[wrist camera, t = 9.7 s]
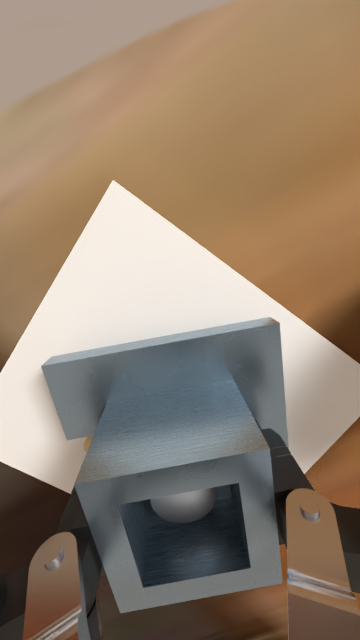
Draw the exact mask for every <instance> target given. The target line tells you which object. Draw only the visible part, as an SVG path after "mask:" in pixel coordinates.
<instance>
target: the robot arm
mask: <svg viewBox="0 0 360 640" xmlns="http://www.w3.org/2000/svg"><path fill="white" fill-rule="evenodd" d="M254 419H255V421H256V423H257V425H258V427H259V429H260V431H261V433H262V435H263V436H264V438H265V440H266V442H267V444H268V446H269V448H270V455H271V465H272V476H273V486H274V497H275V507H276V518H277V529H278V539H279V545H281V544H285V545H286V548H287V559H288V575H287V592H288V629H289V640H360V614H359V609H358V605H357V602H356V598H355V596H354V594H352V592H356V593H360V509H357V508H350V507H343V506H339V505H336V504H333V503H331V502H329V501H328V500H327V499H326V498H325V497H324V496H323V495H321V494H320V493H318V492H316V491H315V490H314V489H313V487H312V486H311V484H310V483H309V481H308V480H307V478H306V476H305V475H304V473H303V472H302V470H301V468H300V467H299V465H298V463H297V462H296V460H295V459H294V457H293V455H291V452H290V451H289V449H288V447H286V444H285V443H284V441H283V439H282V438H281V436H280V435H279V434H278V433H276V432H275V431H274V430H272V429H271V428H267V429H261V427H260V425H259V423H258V422H257V420H256V418H254ZM104 576H107V575H106V572H105V569H104V566H103V564H102V561H101V558H100V555H99V553H98V550H97V547H96V544H95V541H94V539H93V536H92V533H91V530H90V528H89V525H88V522H87V519H86V517H85V514H84V511H83V508H82V505H81V503H80V500H79V497H78V494H77V492H76V489H75V486H74V487H73V490H72V492H71V495H70V497H69V500H68V502H67V505H66V507H65V510H64V512H63V515H62V517H61V520H60V522H59V525H58V527H57V530H56V532H55V535H54V536H52V537H50V538H49V539H48V540H47V541H45V542H44V543H43V544H42V545H41V546H40V548H39V549H38V550H37V552H36V553H35V555H34V556H33V558H32V561H31V562H30V563H28V564H26V565H24V566H22V567H21V568H19V569H17V570H15V571H13V572H11V573H9V574H7V575H5V576H3V577H1V575H0V640H104V638H103V630H102V623H101V615H100V608H99V600H98V595H97V593H96V592H97V587H98V583H99V578H100V577H104ZM351 591H352V592H351Z"/></svg>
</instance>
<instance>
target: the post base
mask: <svg viewBox="0 0 360 640" xmlns="http://www.w3.org/2000/svg"><path fill="white" fill-rule="evenodd" d="M267 317H271V318H273V319H274V320H276V321H278V322H279V323H280V334H281V348H282V362H283V376H284V390H285V404H286V418H287V432H288V446H289V451H290V452H291V455H293V457H294V459H295V460H296V462H297V463H298V465H299V467H300V468H301V470H302V472H303V473H304V474H305V473H306V472H307V471H308V470H309V469H310V468H311V467H312V466H313V465H314V464H315V462H316V461H317V460H318V459H319V458H320V457H321V456H322V455H323V454H324V453H325V452H326V451H327V450H328V449H329V448H330V447H331V446H332V445H333V444H334V443H335V442H336V441H337V440H338V439H339V438H340V436H341V435H342V434H343V433H344V432H345V431H346V430H347V429H348V428H349V427H350V426H351V425H352V424H353V423H354V422H355V421H356V420H357V419H358V418H359V417H360V364H359V363H358V362H356V361H355V360H354V359H352V358H351V357H350V356H348V355H347V354H346V353H344V352H343V351H342V350H340V349H339V348H337V347H336V346H335V345H333V344H332V343H331V342H329V341H328V340H327V339H325V338H324V337H323V336H321V335H320V334H319V333H317V332H316V331H315V330H313V329H312V328H311V327H309V326H308V325H307V324H305V323H304V322H303V321H301V320H300V319H299V318H297V317H296V316H295V315H293V314H292V313H291V312H289V311H288V310H287V309H285V308H284V307H283V306H281V305H280V304H279V303H277V302H276V301H275V300H273V299H272V298H271V297H269V296H268V295H266V294H265V293H264V292H262V291H261V290H260V289H258V288H257V287H256V286H254V285H253V284H252V283H250V282H249V281H248V280H246V279H245V278H244V277H242V276H241V275H240V274H238V273H237V272H236V271H234V270H233V269H232V268H230V267H229V266H228V265H226V264H225V263H224V262H222V261H221V260H220V259H218V258H217V257H216V256H214V255H213V254H212V253H210V252H209V251H208V250H206V249H205V248H204V247H202V246H201V245H199V244H198V243H197V242H195V241H194V240H193V239H191V238H190V237H189V236H187V235H186V234H185V233H183V232H182V231H181V230H179V229H178V228H177V227H175V226H174V225H173V224H171V223H170V222H169V221H167V220H166V219H165V218H163V217H162V216H161V215H159V214H158V213H157V212H155V211H154V210H153V209H151V208H150V207H149V206H147V205H146V204H145V203H143V202H142V201H141V200H139V199H138V198H137V197H135V196H134V195H133V194H131V193H130V192H128V191H127V190H126V189H124V188H123V187H122V186H120V185H119V184H118V183H116V182H115V181H114V180H113V181H112V183H111V184H110V186H109V188H108V189H107V191H106V193H105V195H104V196H103V198H102V200H101V202H100V203H99V205H98V207H97V208H96V210H95V212H94V214H93V215H92V217H91V219H90V220H89V222H88V224H87V226H86V227H85V229H84V231H83V232H82V234H81V236H80V238H79V239H78V241H77V243H76V244H75V246H74V248H73V250H72V251H71V253H70V255H69V256H68V258H67V260H66V262H65V263H64V265H63V267H62V268H61V270H60V272H59V274H58V275H57V277H56V279H55V280H54V282H53V284H52V286H51V287H50V289H49V291H48V292H47V294H46V296H45V298H44V299H43V301H42V303H41V304H40V306H39V308H38V310H37V311H36V313H35V315H34V316H33V318H32V320H31V322H30V323H29V325H28V327H27V328H26V330H25V332H24V334H23V335H22V337H21V339H20V340H19V342H18V344H17V346H16V347H15V349H14V351H13V352H12V354H11V356H10V358H9V359H8V361H7V363H6V365H5V366H4V368H3V370H2V371H1V373H0V461H1V462H3V463H5V464H7V465H9V466H11V467H13V468H16V469H18V470H20V471H22V472H24V473H26V474H29V475H31V476H33V477H35V478H37V479H39V480H42V481H44V482H46V483H48V484H50V485H52V486H55V487H57V488H59V489H61V490H63V491H65V492H67V493H70V494H71V492H72V490H73V487H74V483H75V481H76V478H77V476H78V473H79V471H80V468H81V466H82V463H83V461H84V458H85V456H86V453H87V451H88V448H89V446H90V443H91V441H92V438H93V436H88V437H83V438H77V439H72V440H67V439H66V437H65V434H64V431H63V428H62V425H61V422H60V419H59V417H58V414H57V411H56V408H55V405H54V402H53V399H52V397H51V394H50V391H49V388H48V385H47V382H46V379H45V377H44V374H43V371H42V368H41V366H42V365H43V364H44V363H45V362H46V361H47V360H48V359H49V358H51V357H52V356H57V355H63V354H68V353H74V352H79V351H85V350H90V349H96V348H101V347H107V346H112V345H118V344H123V343H129V342H134V341H140V340H145V339H151V338H156V337H162V336H167V335H173V334H178V333H184V332H189V331H195V330H201V329H206V328H212V327H217V326H223V325H228V324H234V323H239V322H245V321H250V320H256V319H261V318H267ZM215 501H216V490H215V487H213V488H207V489H202V490H197V491H191V492H186V493H180V494H175V495H169V496H164V497H159V498H153V499H151V505H152V508H153V510H154V511H155V512H156V514H158V515H159V516H160V517H161V518H163V519H165V520H167V521H170V522H174V523H189V522H193V521H196V520H198V519H201V518H202V517H204V516H205V515H206V514H208V513H209V512H210V510H211V509H212V508H213V506H214V504H215Z"/></svg>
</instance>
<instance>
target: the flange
mask: <svg viewBox="0 0 360 640" xmlns="http://www.w3.org/2000/svg"><path fill="white" fill-rule="evenodd" d="M41 368H42V371H43V374H44V377H45V379H46V382H47V385H48V388H49V391H50V394H51V397H52V399H53V402H54V405H55V408H56V411H57V414H58V417H59V419H60V422H61V425H62V428H63V431H64V434H65V437H66V439H67V440H72V439H77V438H83V437H88V436H93V438H92V441H91V443H90V446H89V448H88V451H87V453H86V456H85V458H84V461H83V463H82V466H81V468H80V471H79V473H78V476H77V478H76V481H75V483H74V486H75V489H76V492H77V494H78V497H79V500H80V503H81V505H82V508H83V511H84V514H85V517H86V519H87V522H88V525H89V528H90V530H91V533H92V536H93V539H94V541H95V544H96V547H97V550H98V553H99V555H100V558H101V561H102V564H103V566H104V569H105V572H106V575H107V578H108V580H109V583H110V586H111V589H112V591H113V594H114V597H115V600H116V602H117V605H118V608H119V611H120V613H125V612H130V611H135V610H141V609H146V608H151V607H157V606H162V605H168V604H173V603H178V602H184V601H189V600H194V599H200V598H205V597H211V596H216V595H221V594H227V593H232V592H237V591H243V590H248V589H253V588H259V587H264V586H270V585H275V584H280V583H283V581H282V571H281V560H280V550H279V539H278V529H277V518H276V507H275V497H274V486H273V476H272V465H271V455H270V448H269V446H268V444H267V442H266V440H265V438H264V436H263V435H262V433H261V431H260V429H259V427H258V425H257V423H256V421H255V419H254V418H256V420H257V422H258V423H259V425H260V427H261V429H267V428H271V429H272V430H274V431H275V432H276V433H278V434H279V435H280V436H281V438H282V439H283V441H284V443H285V444H286V447H288V449H289V446H288V432H287V418H286V404H285V390H284V376H283V362H282V348H281V334H280V323H279V322H278V321H276V320H274V319H273V318H271V317H267V318H261V319H256V320H250V321H245V322H239V323H234V324H228V325H223V326H217V327H212V328H206V329H201V330H195V331H189V332H184V333H178V334H173V335H167V336H162V337H156V338H151V339H145V340H140V341H134V342H129V343H123V344H118V345H112V346H107V347H101V348H96V349H90V350H85V351H79V352H74V353H68V354H63V355H57V356H52V357H51V358H49V359H48V360H47V361H46V362H45V363H44V364H43V365H42V366H41ZM213 487H215V490H216V501H215V504H214V506H213V508H212V509H211V510H210V512H209V513H208V514H206V515H205V516H204V517H202V518H201V519H198V520H196V521H193V522H189V523H174V522H170V521H167V520H165V519H163V518H161V517H160V516H159V515H158V514H156V512H155V511H154V510H153V508H152V505H151V499H153V498H159V497H164V496H169V495H175V494H180V493H186V492H191V491H197V490H202V489H207V488H213Z"/></svg>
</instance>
